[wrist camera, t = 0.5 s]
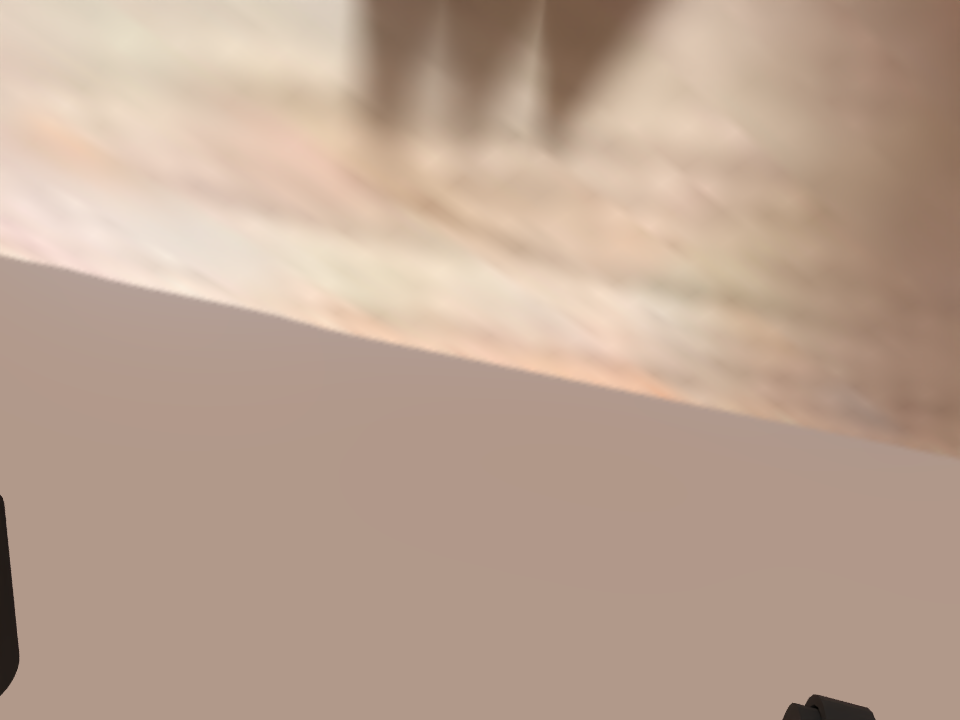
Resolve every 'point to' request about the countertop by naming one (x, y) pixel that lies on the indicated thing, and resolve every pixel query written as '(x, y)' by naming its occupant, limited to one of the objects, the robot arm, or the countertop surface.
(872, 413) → the countertop surface
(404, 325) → the countertop surface
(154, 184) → the countertop surface
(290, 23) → the countertop surface
